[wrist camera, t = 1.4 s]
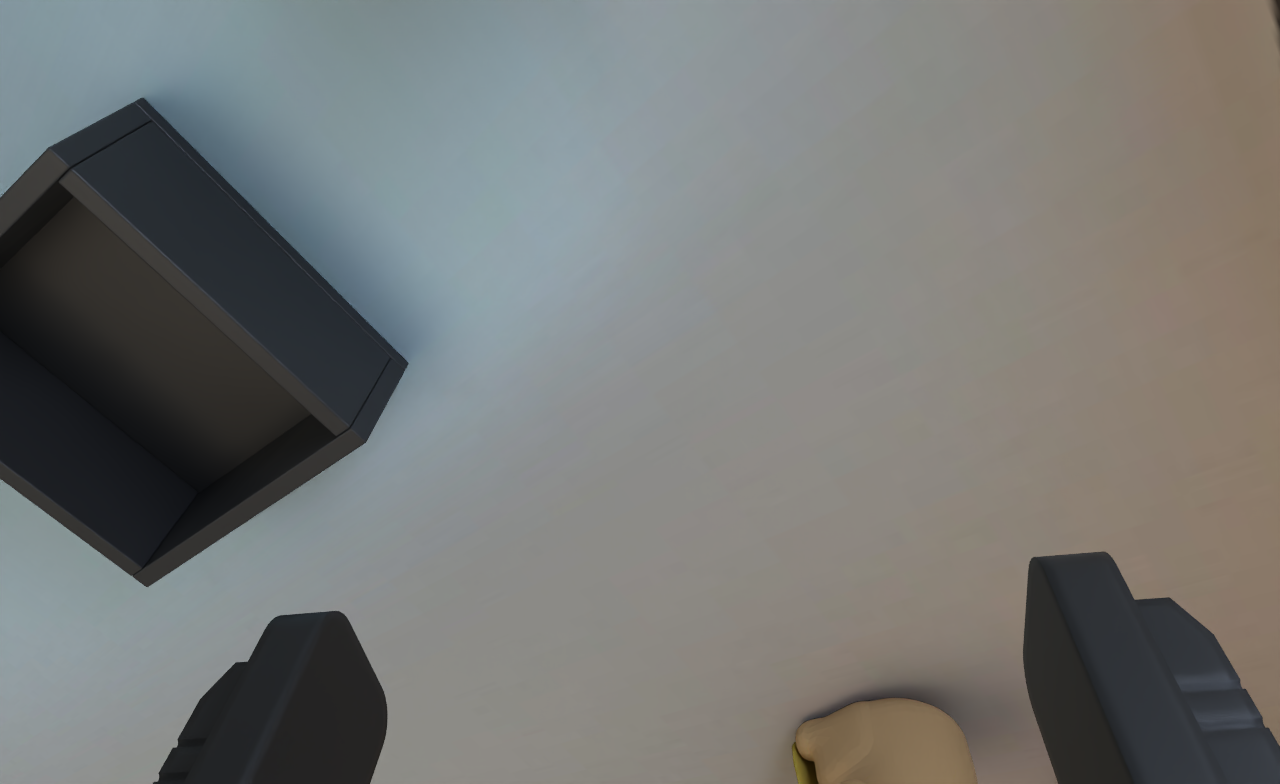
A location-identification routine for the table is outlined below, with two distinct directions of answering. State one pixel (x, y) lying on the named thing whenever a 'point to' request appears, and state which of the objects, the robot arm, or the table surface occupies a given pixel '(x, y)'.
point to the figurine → (883, 746)
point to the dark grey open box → (167, 348)
